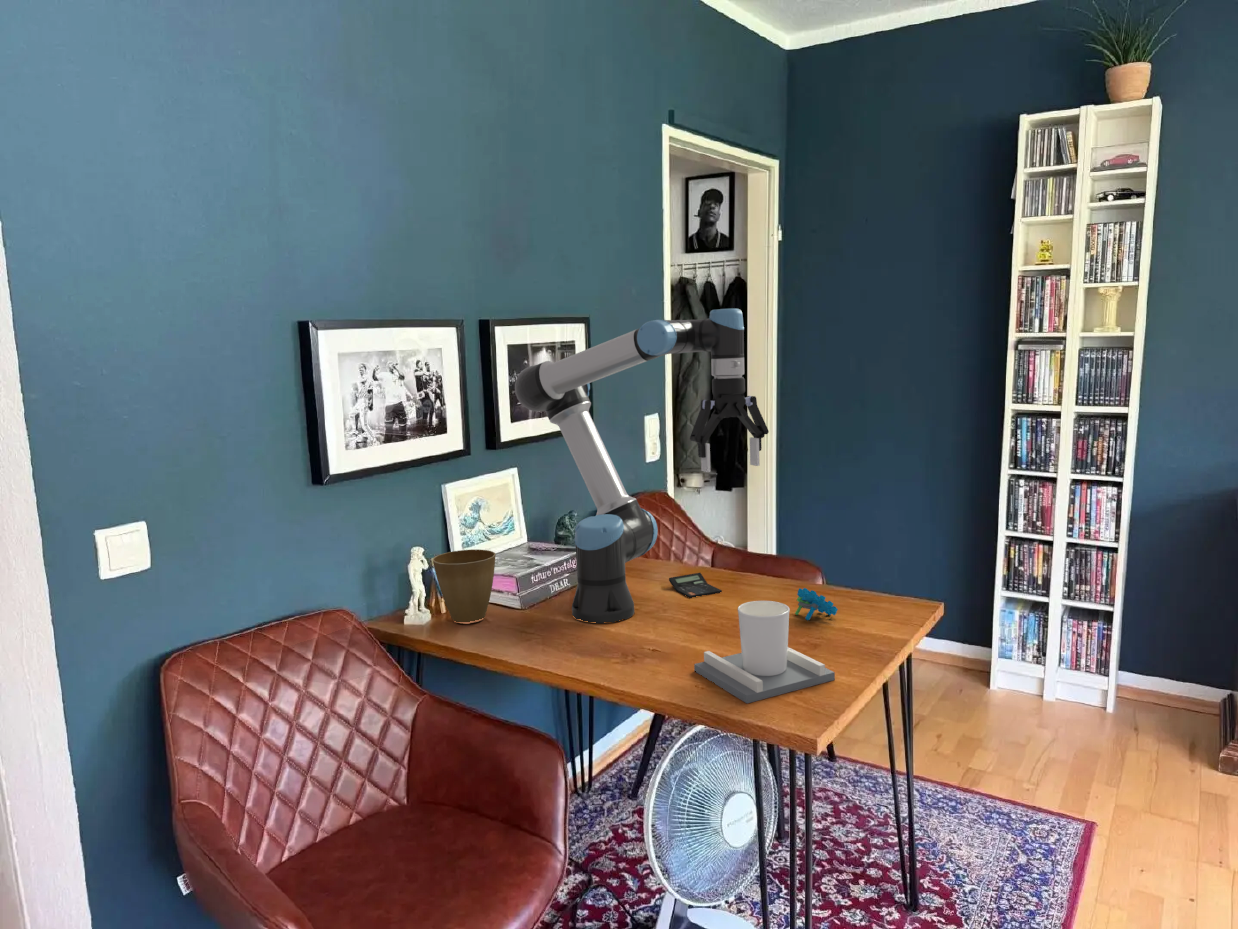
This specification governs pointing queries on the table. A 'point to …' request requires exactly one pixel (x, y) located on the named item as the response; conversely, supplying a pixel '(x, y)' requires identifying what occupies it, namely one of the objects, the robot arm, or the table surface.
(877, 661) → the table surface
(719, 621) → the table surface
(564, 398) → the robot arm
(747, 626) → the candle holder
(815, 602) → the gear
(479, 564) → the plant pot
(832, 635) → the table surface
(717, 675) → the grey tray with rails
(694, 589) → the calculator
